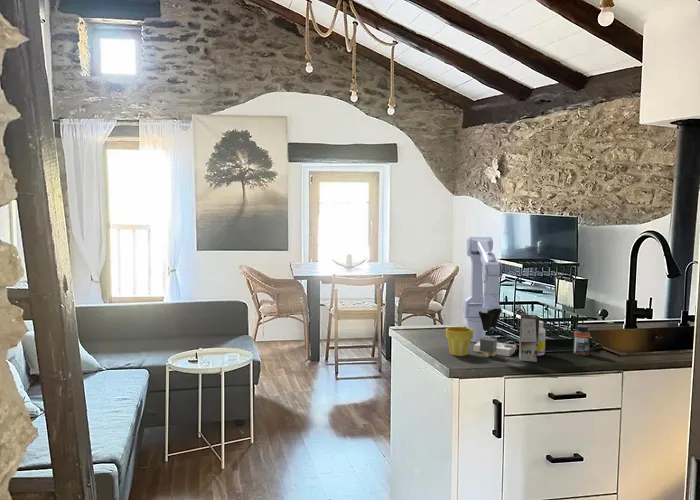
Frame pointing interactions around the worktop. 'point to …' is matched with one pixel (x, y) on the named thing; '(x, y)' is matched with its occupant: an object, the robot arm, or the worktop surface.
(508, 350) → the socket
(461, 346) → the plant pot
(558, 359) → the worktop surface
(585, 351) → the supplement bottle
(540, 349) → the supplement bottle
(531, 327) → the coffee box
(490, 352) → the plug
